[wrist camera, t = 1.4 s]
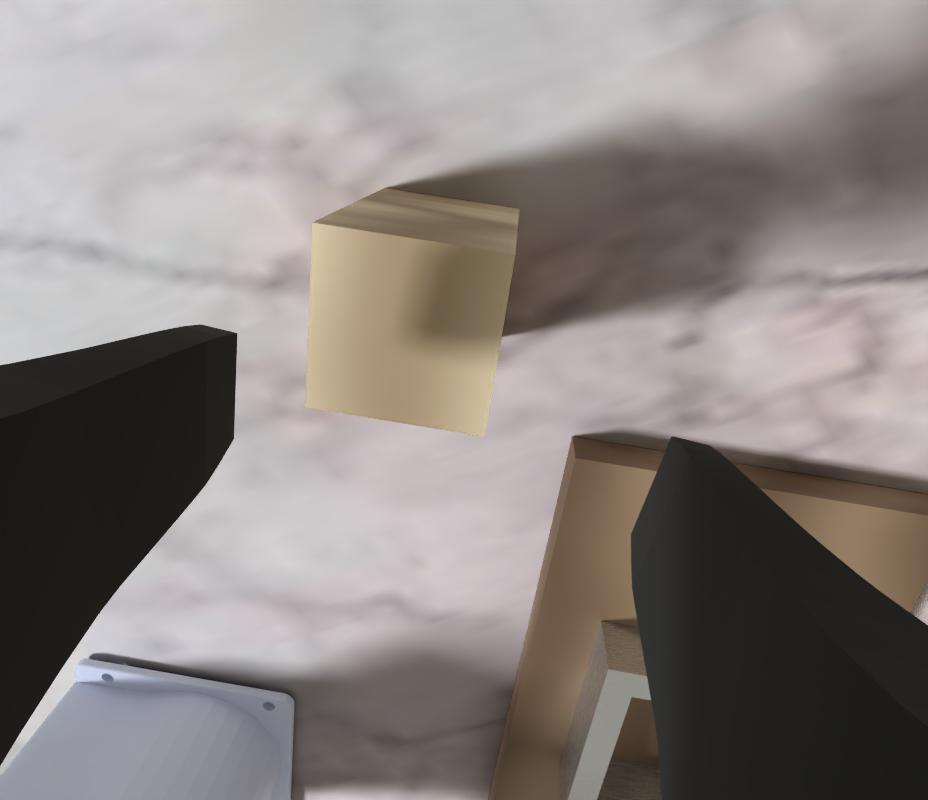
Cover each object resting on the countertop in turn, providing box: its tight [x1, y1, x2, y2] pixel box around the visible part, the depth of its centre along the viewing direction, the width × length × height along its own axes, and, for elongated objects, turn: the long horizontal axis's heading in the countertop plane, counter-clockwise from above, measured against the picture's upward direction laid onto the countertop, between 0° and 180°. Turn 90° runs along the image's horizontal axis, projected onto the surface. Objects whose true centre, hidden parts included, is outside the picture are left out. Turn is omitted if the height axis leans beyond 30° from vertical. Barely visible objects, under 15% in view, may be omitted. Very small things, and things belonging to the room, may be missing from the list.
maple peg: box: [305, 188, 520, 437], centre depth 16 cm, size 4×4×7 cm
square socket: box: [559, 621, 662, 800], centre depth 23 cm, size 8×8×2 cm
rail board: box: [488, 437, 928, 800], centre depth 25 cm, size 12×20×2 cm, turn 172°
